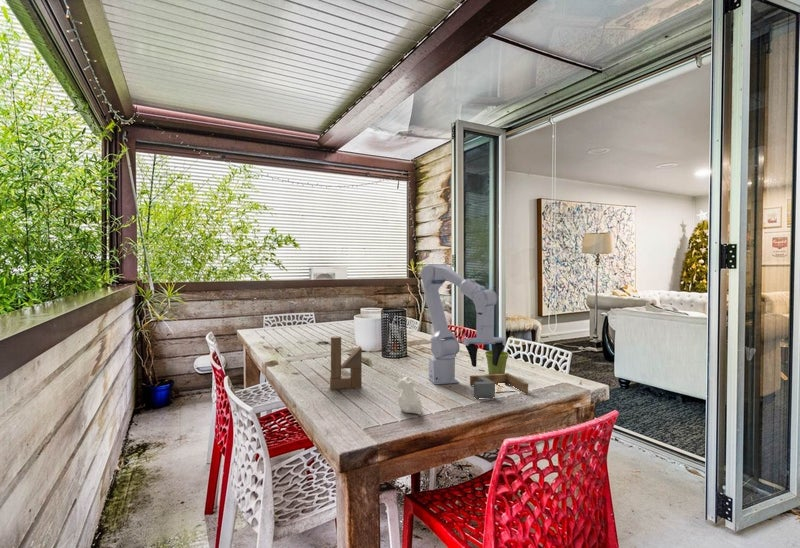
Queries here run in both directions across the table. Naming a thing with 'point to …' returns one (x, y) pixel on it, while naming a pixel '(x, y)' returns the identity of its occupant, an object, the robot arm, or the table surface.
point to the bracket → (484, 388)
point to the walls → (503, 380)
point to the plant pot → (500, 366)
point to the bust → (408, 397)
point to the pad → (499, 388)
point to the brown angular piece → (352, 362)
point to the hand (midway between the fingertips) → (484, 365)
